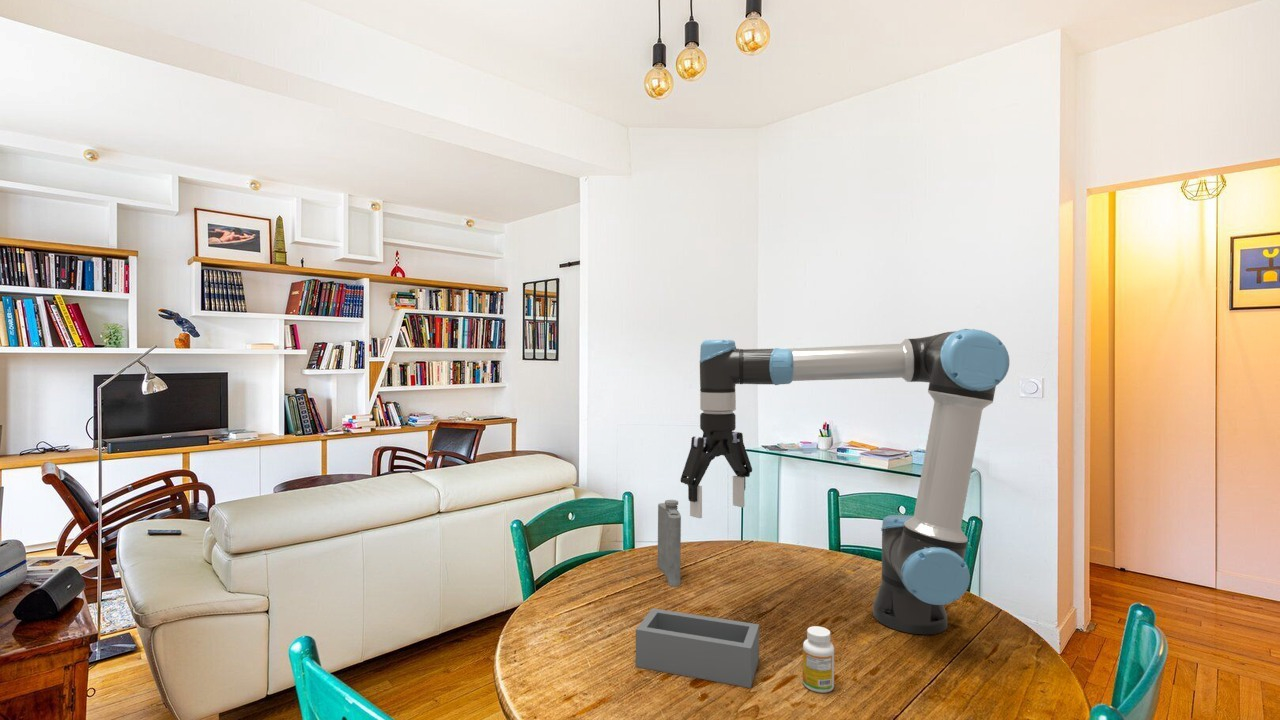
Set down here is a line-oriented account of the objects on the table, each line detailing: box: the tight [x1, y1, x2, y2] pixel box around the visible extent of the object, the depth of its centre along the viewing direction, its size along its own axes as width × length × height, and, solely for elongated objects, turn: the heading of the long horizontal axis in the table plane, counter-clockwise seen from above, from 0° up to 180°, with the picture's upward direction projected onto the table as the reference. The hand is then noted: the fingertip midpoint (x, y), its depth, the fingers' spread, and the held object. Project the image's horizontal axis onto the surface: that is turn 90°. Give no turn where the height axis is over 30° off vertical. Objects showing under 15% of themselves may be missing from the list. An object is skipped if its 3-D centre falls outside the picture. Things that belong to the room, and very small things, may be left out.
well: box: [634, 607, 760, 689], centre depth 114 cm, size 22×10×7 cm, turn 71°
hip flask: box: [657, 499, 682, 588], centre depth 161 cm, size 16×4×20 cm, turn 10°
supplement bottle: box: [802, 625, 835, 694], centre depth 107 cm, size 5×5×10 cm
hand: (718, 511), depth 128 cm, fingers open, 13 cm apart
